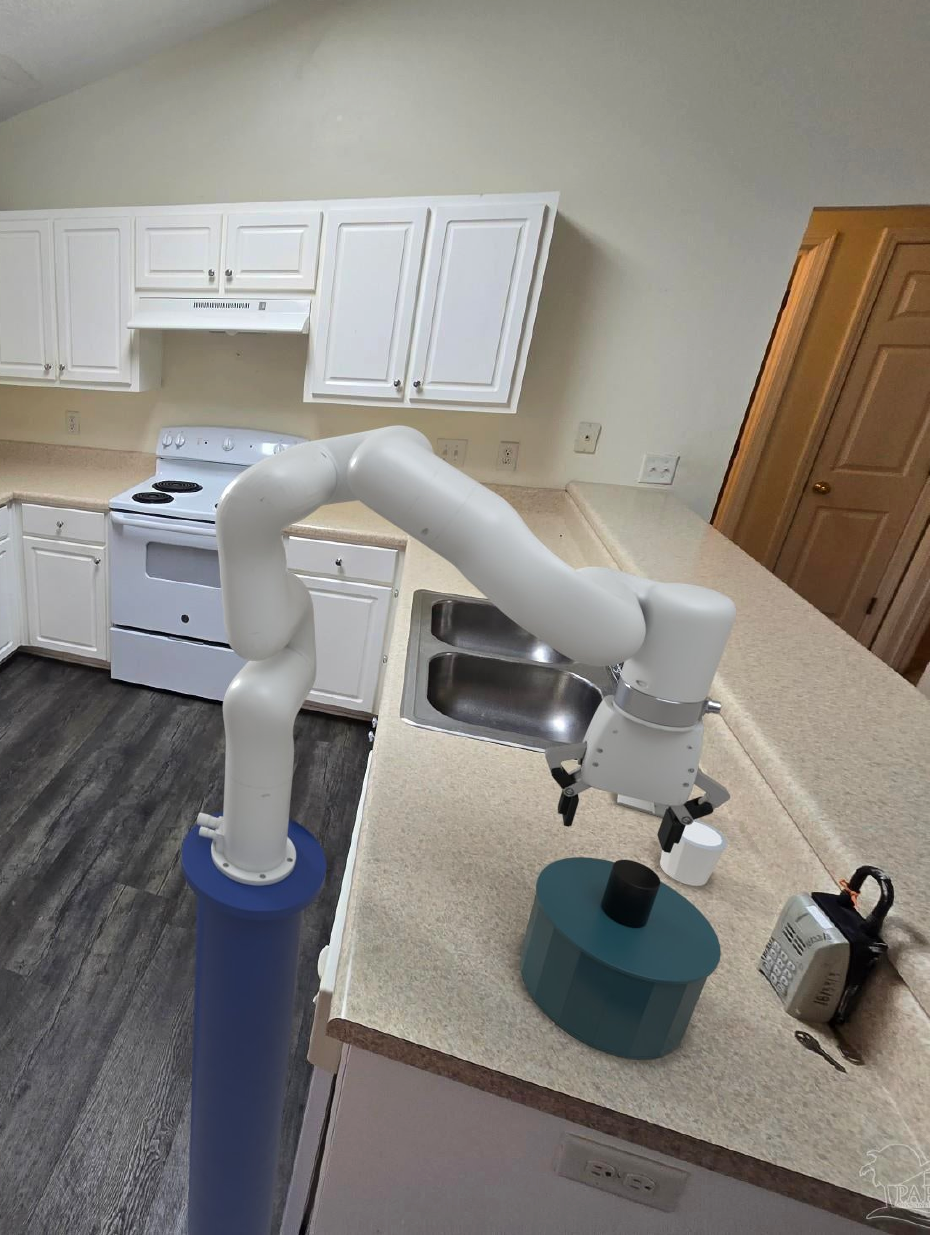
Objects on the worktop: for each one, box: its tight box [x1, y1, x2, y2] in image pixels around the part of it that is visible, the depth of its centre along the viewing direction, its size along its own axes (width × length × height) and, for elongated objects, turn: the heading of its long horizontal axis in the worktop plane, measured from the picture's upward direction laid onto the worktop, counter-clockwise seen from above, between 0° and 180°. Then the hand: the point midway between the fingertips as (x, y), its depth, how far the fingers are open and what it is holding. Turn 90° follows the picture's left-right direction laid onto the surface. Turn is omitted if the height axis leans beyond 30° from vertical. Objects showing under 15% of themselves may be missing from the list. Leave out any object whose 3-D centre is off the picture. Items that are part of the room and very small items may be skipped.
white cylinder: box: [659, 819, 729, 887], centre depth 98 cm, size 7×7×7 cm
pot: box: [519, 894, 708, 1061], centre depth 79 cm, size 17×17×12 cm
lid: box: [535, 856, 722, 985], centre depth 76 cm, size 17×17×7 cm
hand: (613, 831), depth 79 cm, fingers open, 9 cm apart
